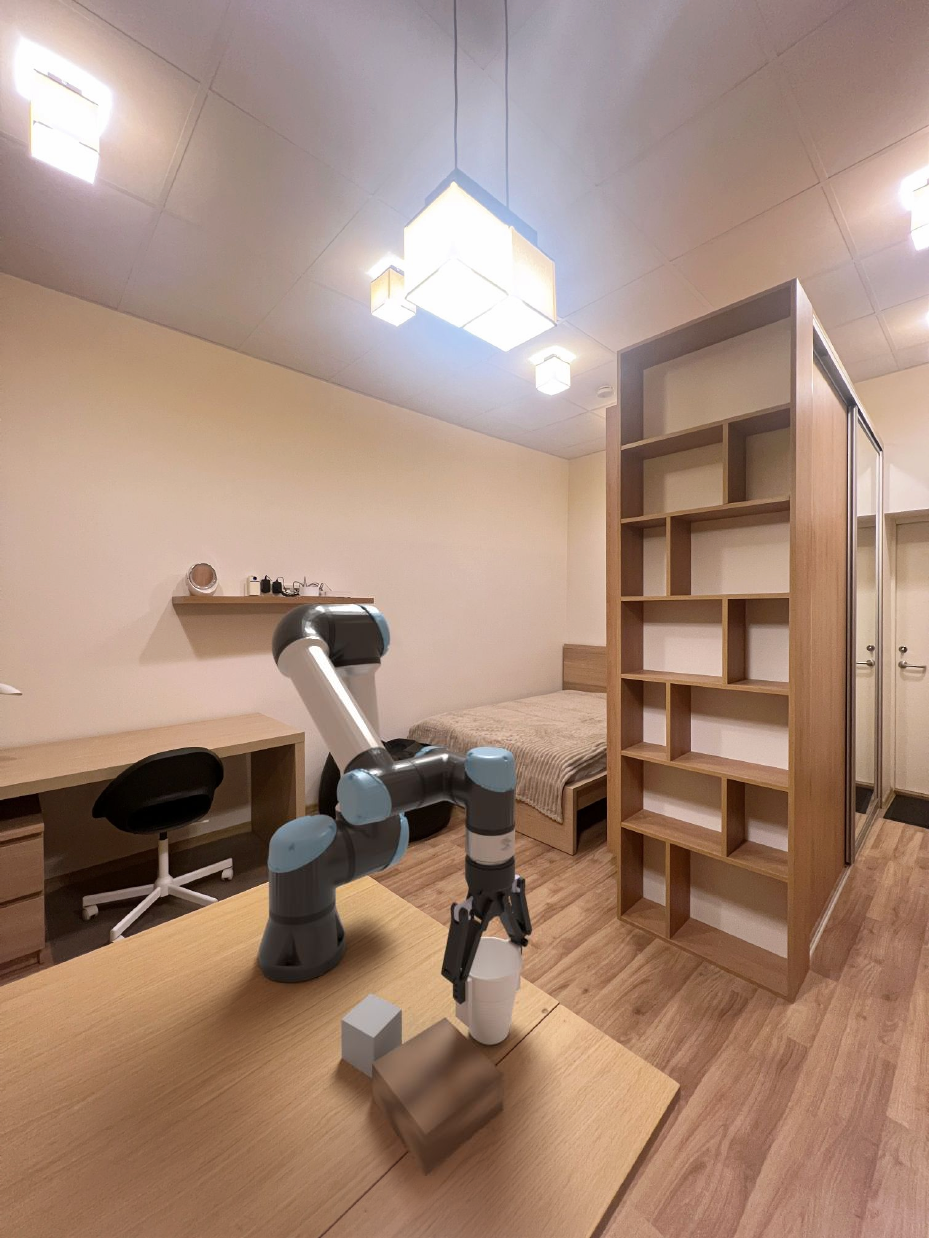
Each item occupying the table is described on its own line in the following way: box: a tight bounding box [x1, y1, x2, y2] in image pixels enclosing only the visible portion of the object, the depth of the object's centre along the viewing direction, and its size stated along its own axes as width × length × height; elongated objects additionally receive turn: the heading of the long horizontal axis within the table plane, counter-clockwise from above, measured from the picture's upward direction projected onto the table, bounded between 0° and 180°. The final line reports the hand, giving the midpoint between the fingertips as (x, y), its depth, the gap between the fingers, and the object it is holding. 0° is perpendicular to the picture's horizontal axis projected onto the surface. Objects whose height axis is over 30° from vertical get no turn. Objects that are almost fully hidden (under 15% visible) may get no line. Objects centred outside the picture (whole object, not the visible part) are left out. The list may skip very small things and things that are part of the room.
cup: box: [461, 936, 524, 1046], centre depth 77 cm, size 10×10×11 cm
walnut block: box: [371, 1016, 504, 1176], centre depth 66 cm, size 12×12×5 cm
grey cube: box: [340, 992, 403, 1079], centre depth 73 cm, size 6×6×6 cm
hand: (489, 1001), depth 77 cm, fingers closed on cup, 10 cm apart
